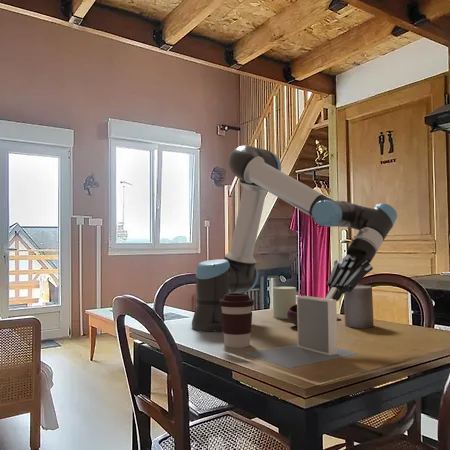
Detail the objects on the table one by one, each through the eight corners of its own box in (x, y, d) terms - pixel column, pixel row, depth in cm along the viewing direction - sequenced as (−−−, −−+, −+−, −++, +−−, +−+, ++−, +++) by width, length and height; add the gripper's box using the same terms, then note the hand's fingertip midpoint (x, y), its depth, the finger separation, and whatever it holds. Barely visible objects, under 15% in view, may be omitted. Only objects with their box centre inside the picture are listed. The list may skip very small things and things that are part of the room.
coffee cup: (230, 341, 143) (230, 291, 143) (260, 345, 138) (259, 293, 138) (213, 348, 134) (212, 295, 135) (244, 352, 129) (243, 296, 130)
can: (270, 315, 191) (270, 285, 192) (293, 314, 192) (292, 285, 193) (275, 319, 182) (275, 287, 182) (299, 318, 183) (298, 287, 183)
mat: (243, 355, 125) (243, 353, 125) (310, 343, 139) (310, 341, 139) (288, 370, 110) (288, 368, 110) (358, 355, 124) (358, 353, 124)
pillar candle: (369, 323, 171) (367, 281, 172) (377, 328, 161) (375, 283, 162) (342, 323, 171) (340, 282, 172) (348, 328, 162) (346, 284, 162)
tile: (297, 346, 132) (296, 296, 133) (305, 345, 134) (304, 295, 134) (329, 355, 122) (328, 300, 123) (337, 353, 124) (336, 299, 124)
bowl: (329, 329, 161) (329, 305, 161) (292, 330, 159) (291, 306, 159) (314, 321, 176) (314, 299, 177) (281, 322, 175) (280, 300, 175)
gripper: (341, 237, 144) (301, 297, 134) (376, 237, 133) (336, 302, 123) (353, 254, 147) (315, 314, 137) (389, 255, 136) (350, 320, 126)
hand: (325, 308), depth 130 cm, fingers closed
